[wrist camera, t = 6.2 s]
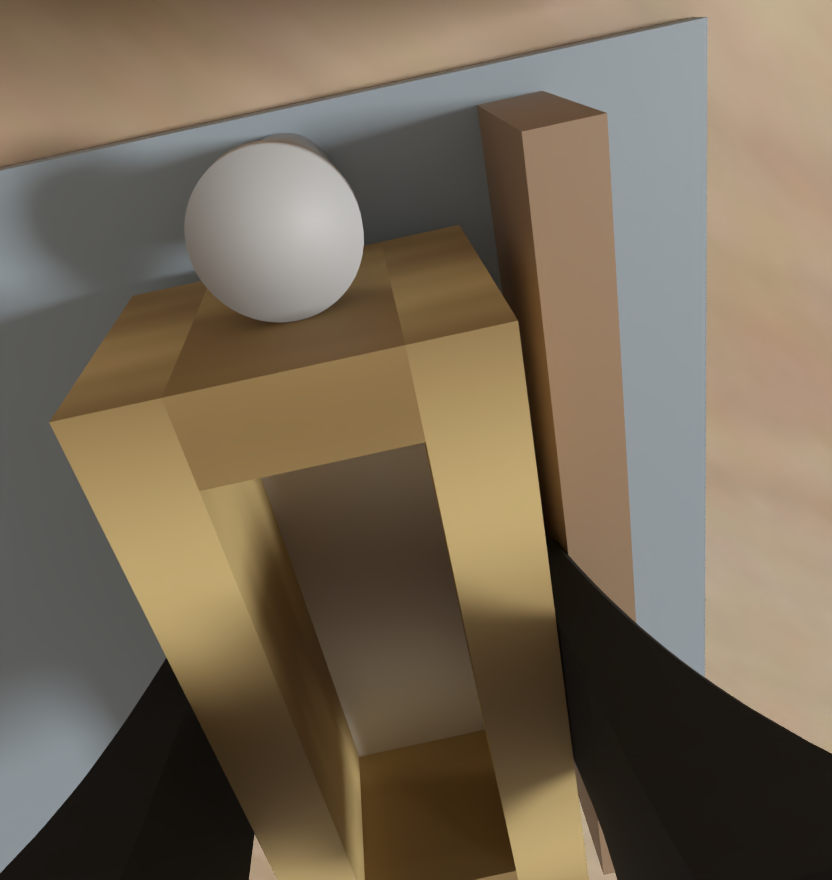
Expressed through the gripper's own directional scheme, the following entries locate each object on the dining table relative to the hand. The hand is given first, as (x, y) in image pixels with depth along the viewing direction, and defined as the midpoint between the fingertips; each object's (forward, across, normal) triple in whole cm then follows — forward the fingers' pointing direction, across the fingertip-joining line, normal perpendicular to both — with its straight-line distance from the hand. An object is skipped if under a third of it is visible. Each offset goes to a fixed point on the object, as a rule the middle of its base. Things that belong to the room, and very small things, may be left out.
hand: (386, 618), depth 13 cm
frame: (+2, 0, 0) cm, 2 cm away
